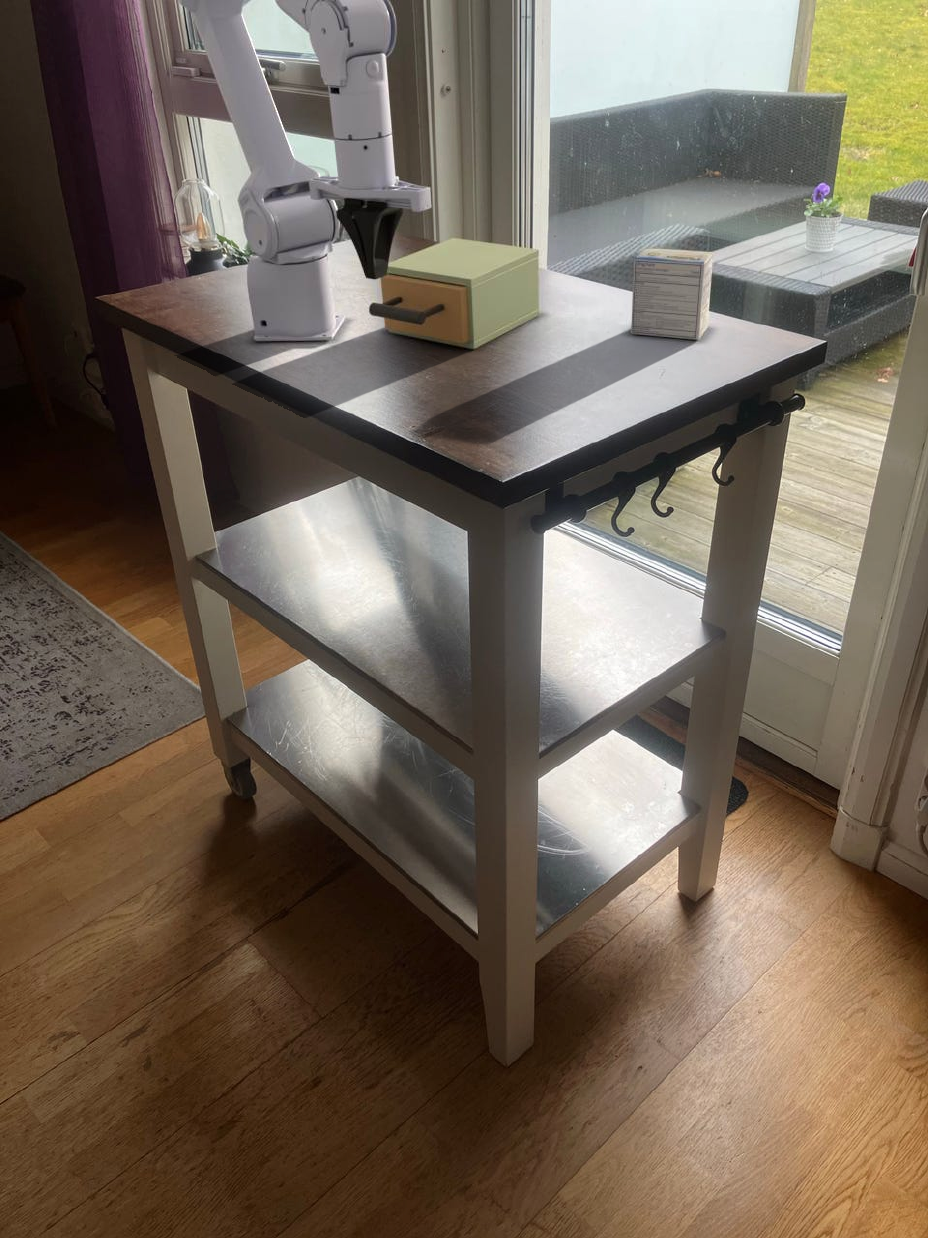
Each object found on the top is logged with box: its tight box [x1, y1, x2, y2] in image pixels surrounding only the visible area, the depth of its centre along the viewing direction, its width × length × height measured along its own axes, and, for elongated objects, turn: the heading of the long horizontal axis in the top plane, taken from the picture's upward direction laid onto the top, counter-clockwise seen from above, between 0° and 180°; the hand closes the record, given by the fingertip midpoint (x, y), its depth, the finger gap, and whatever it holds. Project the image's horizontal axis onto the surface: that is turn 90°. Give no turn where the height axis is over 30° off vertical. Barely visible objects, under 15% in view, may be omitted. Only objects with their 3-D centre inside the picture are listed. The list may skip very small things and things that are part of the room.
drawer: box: [368, 274, 469, 344], centre depth 116 cm, size 17×11×6 cm, turn 144°
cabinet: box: [387, 237, 540, 350], centre depth 119 cm, size 14×13×8 cm
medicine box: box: [630, 248, 714, 341], centre depth 113 cm, size 8×4×9 cm, turn 65°
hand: (376, 276), depth 106 cm, fingers closed
